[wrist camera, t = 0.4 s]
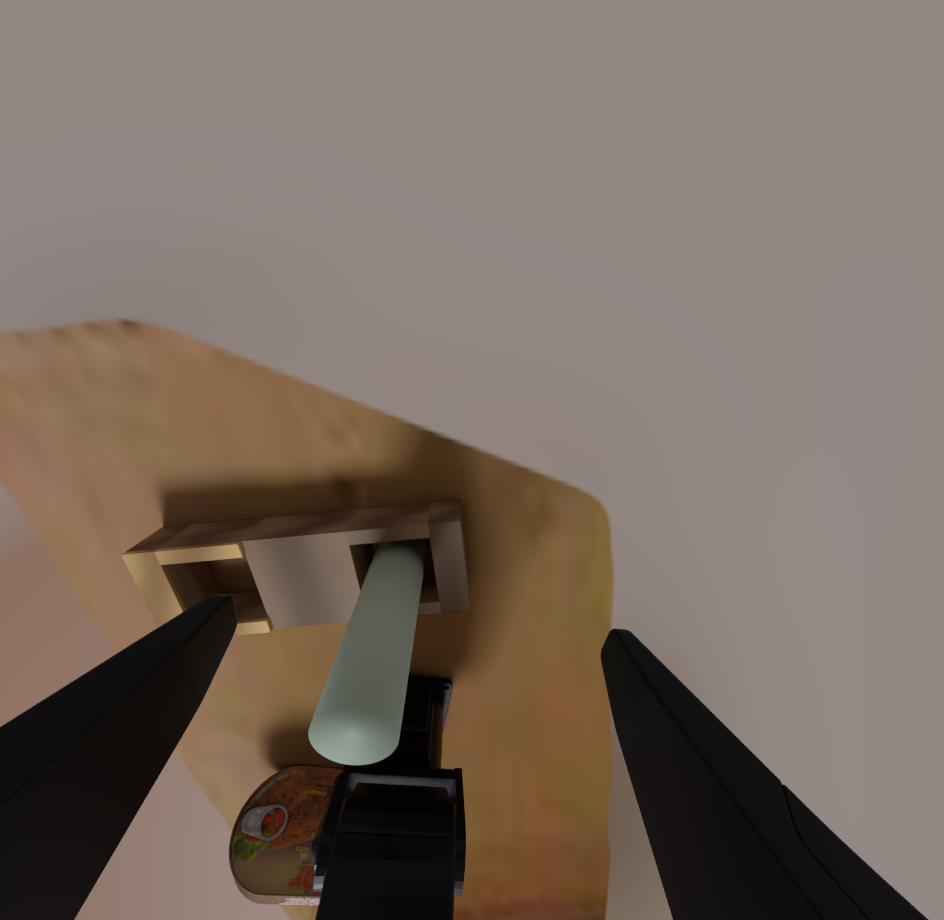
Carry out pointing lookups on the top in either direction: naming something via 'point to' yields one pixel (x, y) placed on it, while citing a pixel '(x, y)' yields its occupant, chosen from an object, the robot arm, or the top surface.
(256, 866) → the tin
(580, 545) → the top surface
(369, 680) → the post
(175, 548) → the brown slotted board
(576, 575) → the top surface
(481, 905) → the top surface
